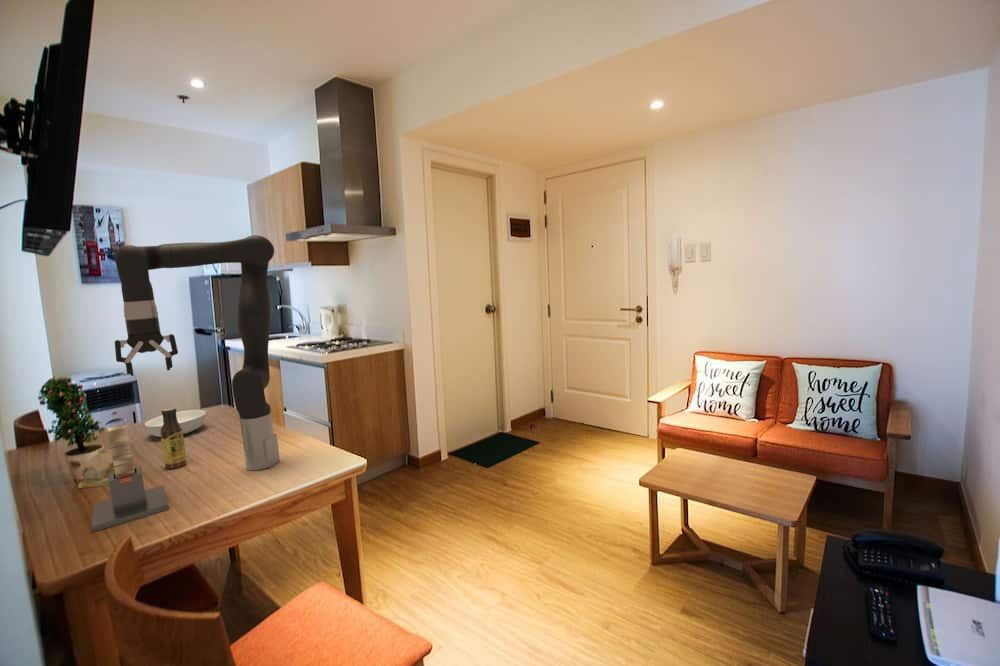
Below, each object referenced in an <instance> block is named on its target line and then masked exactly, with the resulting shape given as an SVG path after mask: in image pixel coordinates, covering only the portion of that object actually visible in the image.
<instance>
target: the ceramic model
mask: <svg viewBox="0 0 1000 666" xmlns="http://www.w3.org/2000/svg"><path fill="white" fill-rule="evenodd" d="M133 465H134V463H133ZM134 466H135V465H134ZM113 472H115V470H114V464H113V459H112V453H111V449H110V448H108V449H105V448H101V449H100V450H98V451H97V453H95V454H94V455H93V456H91V458H90V460H88V462H87V463H86V465H85V466H83V468H82V469H81V473H80V474H81V476H82V478H83V480H82V481H80V482H79V484H78V486H77V488H78V489H84V488H99V487H103V486H106V485H109V473H113Z"/></svg>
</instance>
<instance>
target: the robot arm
mask: <svg viewBox="0 0 1000 666" xmlns="http://www.w3.org/2000/svg"><path fill="white" fill-rule="evenodd" d="M274 255H275V248H274V245H273V243H272V242H271V241H270V240H269V239H268V238H267V237H265V236H262V235H258V234H256V235H249V236H246V237H245V238H241V239H235V240H228V241H218V242H215V241H214V242H175V243H174V242H173V243H163V244H158V245H149V246H147V245H145V246H141V245H140V246H139V245H138V246H137V245H131V244H125V245H123V246H120V247H119V248H118V249H117V250H116V251H115V254H114V260H115V267H116V270H117V275H118V277H119V280H120V284H121V285H120V287H121V296H122V300H123V314H124V315H123V317H124V320H125V327H126V333H127V339H122V340H121V339H115V340H114V349H115V350H114V351H115V360H116V362H118V363H124V364H125V368H126V370H125V371H126V374H127V375H130V377H133V376H135V375H134V369H133V364H132V359H134V358H135V356H136V354H137V353H140V354H144V353H149V352H150V353H153V352H156V351H158V352H159V353H161V354H162V355H164V356H165V358H164V360H165V365H166V371H171V369H172V368H173V360H172V357H174V356H176V355H178V353H179V350H178V346H177V341H176V337H175V335H174V334H172V333H170V334H167V335H162V333H161V327H160V321H159V320H160V319H159V312H158V309H157V305H156V304H157V303H156V301H155V294H154V289H153V285H152V282H151V280H150V273H149V271H152V270H158V269H177V268H178V269H179V268H190V267H191V268H192V267H201V266H208V265H217V264H230V263H232V264H235V263H236V264H239V263H240V268H241V283H240V288H239V289H240V290H239V296H238V307H237V310H238V311H237V327H238V333H239V336H240V339H241V342H242V346H243V364H242V369H240V370H238V371H237V372H236V373H235V374H234V375H233V377H232V381H231V389H232V394H233V400H234V401H233V402H234V405H235V406H234V407H235V409H236V411H237V413H238V416H239V423H240V429H241V430H240V431H241V436H242V437H241V438H242V445H243V454H244V460H245V468H246V470H249V471H260V470H265V469H270V468H272V467H273V466H275V465H276V464H277V463H279V462H280V461H281V460H280V459H281V458H280V451H279V443H278V435H277V433H274V426H273V417H272V411H271V410H272V409H271V405H270V404H269V403H268V402H267V400H266V395H265V389H266V388H267V387H268V385H269V383H270V379H271V378H270V377H271V375H270V366H269V365H270V363H269V362H270V361H269V341H270V325H271V301H270V293H269V287H268V270H269V263H270V261H271V260H272V258H273V257H274ZM164 340H166V342H167V343H170V347H171V350H170V351H167V349H165V348H164V347H163V346H162V343H163V342H164ZM126 344H127V345H128V346H130V347H131V349H130V352H129V353H128V354H127V356H126V357H125V356H124V357H122V349H123V348H124V347H125V345H126Z"/></svg>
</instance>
